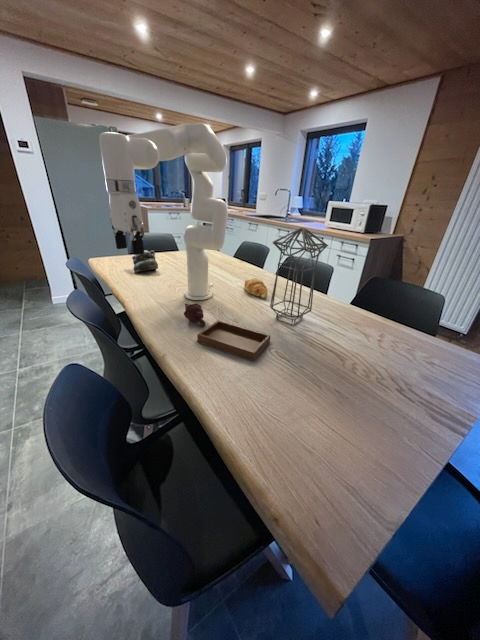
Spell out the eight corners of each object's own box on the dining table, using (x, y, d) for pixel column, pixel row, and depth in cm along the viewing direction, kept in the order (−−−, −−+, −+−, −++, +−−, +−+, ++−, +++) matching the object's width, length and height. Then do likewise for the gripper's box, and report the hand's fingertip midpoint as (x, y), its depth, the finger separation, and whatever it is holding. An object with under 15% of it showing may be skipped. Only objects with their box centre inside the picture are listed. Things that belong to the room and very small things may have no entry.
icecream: (174, 300, 101) (192, 318, 91) (191, 292, 104) (210, 309, 94) (178, 314, 105) (196, 333, 95) (194, 307, 108) (213, 324, 98)
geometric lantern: (262, 318, 105) (270, 226, 90) (284, 308, 116) (295, 224, 101) (295, 332, 96) (312, 232, 81) (316, 319, 107) (334, 229, 91)
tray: (217, 326, 97) (218, 320, 96) (269, 342, 88) (270, 335, 87) (197, 341, 87) (197, 334, 86) (253, 361, 78) (254, 353, 77)
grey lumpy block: (129, 273, 150) (124, 249, 150) (140, 276, 162) (135, 254, 162) (154, 267, 148) (148, 243, 148) (163, 270, 160) (158, 248, 160)
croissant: (270, 305, 127) (278, 291, 125) (254, 298, 121) (263, 283, 119) (249, 290, 143) (256, 277, 142) (235, 283, 137) (242, 270, 136)
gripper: (151, 189, 70) (157, 254, 77) (119, 187, 80) (127, 245, 87) (124, 188, 65) (133, 258, 72) (93, 186, 74) (104, 247, 82)
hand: (130, 251), depth 80 cm, fingers open, 9 cm apart
